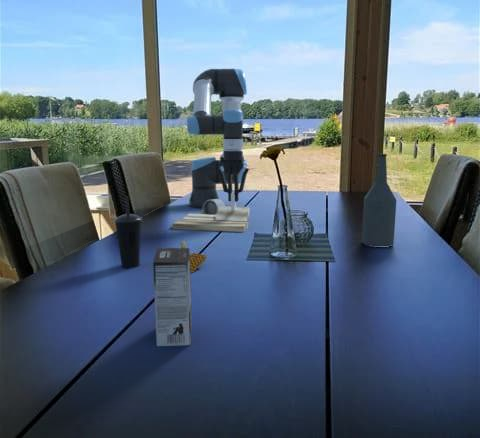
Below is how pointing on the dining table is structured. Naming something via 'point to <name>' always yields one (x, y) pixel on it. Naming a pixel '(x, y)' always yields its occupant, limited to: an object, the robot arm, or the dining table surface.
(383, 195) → the bottle
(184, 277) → the coffee box
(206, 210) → the ceramic mug
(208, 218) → the plank
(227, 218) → the plank
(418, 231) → the dining table surface
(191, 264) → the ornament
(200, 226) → the laid board
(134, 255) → the drinking cup
